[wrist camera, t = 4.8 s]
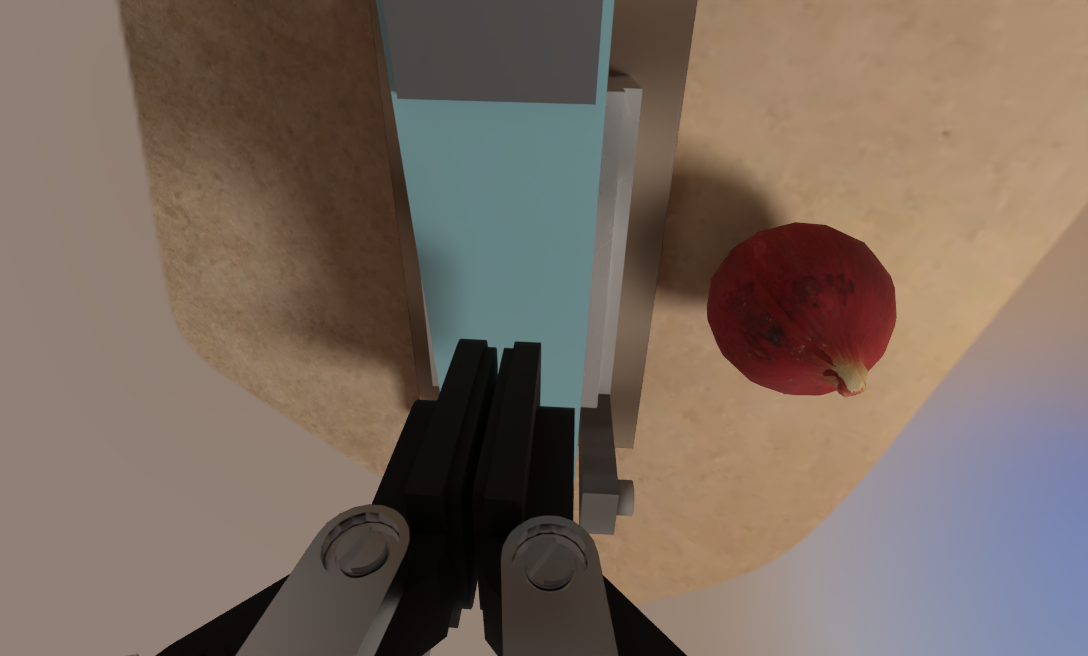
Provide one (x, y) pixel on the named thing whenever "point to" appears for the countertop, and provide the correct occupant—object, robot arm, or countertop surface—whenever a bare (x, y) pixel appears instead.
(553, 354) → the bar
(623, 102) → the heat sink
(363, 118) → the countertop surface
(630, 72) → the clip base
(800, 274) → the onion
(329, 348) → the countertop surface
